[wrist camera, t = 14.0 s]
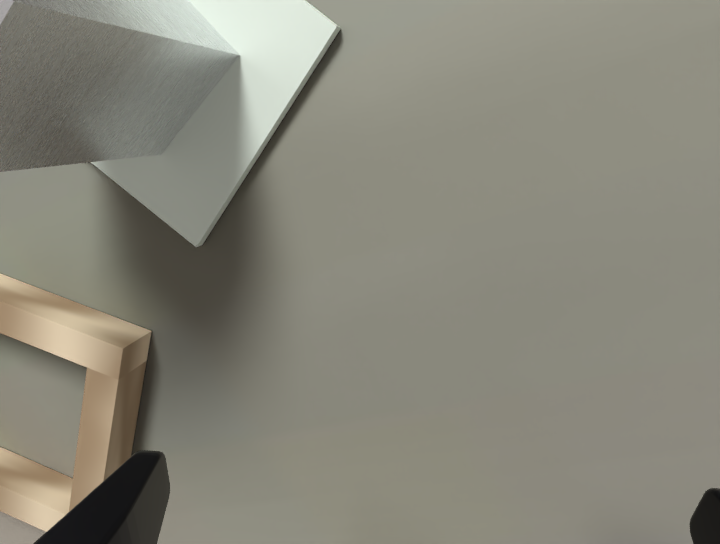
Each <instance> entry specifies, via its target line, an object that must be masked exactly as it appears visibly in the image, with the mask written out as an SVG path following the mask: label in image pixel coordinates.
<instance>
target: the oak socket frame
mask: <svg viewBox="0 0 720 544" xmlns="http://www.w3.org/2000/svg"><path fill="white" fill-rule="evenodd" d="M151 332H152V331H150V330H148V329H145V328H142V327H140V326H137V325H134V324H132V323H129V322H126V321H124V320H121V319H119V318H116V317H113V316H111V315H108V314H105V313H103V312H100V311H97V310H95V309H92V308H90V307H87V306H84V305H82V304H79V303H76V302H74V301H71V300H69V299H66V298H63V297H61V296H58V295H55V294H53V293H50V292H47V291H45V290H42V289H40V288H37V287H34V286H32V285H29V284H26V283H24V282H21V281H18V280H16V279H13V278H11V277H8V276H5V275H3V274H0V333H2V334H4V335H7V336H9V337H12V338H14V339H17V340H19V341H22V342H24V343H27V344H29V345H32V346H34V347H37V348H39V349H42V350H44V351H47V352H49V353H52V354H54V355H57V356H59V357H62V358H64V359H67V360H69V361H72V362H75V363H77V364H80V365H82V366H85V367H87V372H86V380H85V388H84V396H83V404H82V412H81V420H80V427H79V435H78V443H77V451H76V459H75V467H74V475H73V478H71V477H68V476H66V475H64V474H61V473H59V472H57V471H55V470H52V469H50V468H48V467H45V466H43V465H41V464H38V463H36V462H34V461H31V460H29V459H27V458H24V457H22V456H20V455H18V454H15V453H13V452H11V451H8V450H6V449H4V448H1V447H0V511H2V512H4V513H6V514H8V515H10V516H13V517H15V518H17V519H19V520H21V521H24V522H26V523H28V524H30V525H32V526H35V527H37V528H39V529H41V530H43V531H46V532H47V531H48V530H49V529H50V528H51V527H53V526H54V525H55V524H56V523H57V522H58V521H59V520H60V519H62V518H63V517H64V516H65V515H66V514H67V513H68V512H69V511H71V510H72V509H73V508H74V507H75V506H76V505H77V504H78V503H80V502H81V501H82V500H83V499H84V498H85V497H86V496H87V495H88V494H90V493H91V492H92V491H93V490H94V489H95V488H96V487H97V486H99V485H100V484H101V483H102V482H103V481H104V480H105V479H106V478H108V477H109V476H110V475H111V474H112V473H113V472H114V471H115V470H117V469H118V468H119V467H120V466H121V465H122V464H123V463H124V462H126V461H127V460H128V459H129V458H130V457H131V453H132V447H133V441H134V435H135V429H136V423H137V417H138V411H139V405H140V399H141V392H142V386H143V380H144V374H145V368H146V362H147V356H148V350H149V344H150V338H151Z"/></svg>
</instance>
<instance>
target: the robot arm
mask: <svg viewBox="0 0 720 544" xmlns="http://www.w3.org/2000/svg"><path fill="white" fill-rule="evenodd" d="M169 494H170V482H169V476H168V470H167V464H166V458H165V455H164V454H163V453H162V452H160V451H145V450H142V451H138V452H136V453H135V454H133V455H132V456H131V457H130V458H129V459H128V460H127V461H126V462H124V463H123V464H122V465H121V466H120V467H119V468H118V469H117V470H115V471H114V472H113V473H112V474H111V475H110V476H109V477H108V478H106V479H105V480H104V481H103V482H102V483H101V484H100V485H99V486H97V487H96V488H95V489H94V490H93V491H92V492H91V493H90V494H88V495H87V496H86V497H85V498H84V499H83V500H82V501H81V502H80V503H78V504H77V505H76V506H75V507H74V508H73V509H72V510H71V511H69V512H68V513H67V514H66V515H65V516H64V517H63V518H62V519H60V520H59V521H58V522H57V523H56V524H55V525H54V526H53V527H51V528H50V529H49V530H48V531H47V532H46V533H45V534H44V535H43V536H41V537H40V538H39V539H38V540H37V541H36V542H35V543H34V544H157V541H158V537H159V533H160V530H161V526H162V522H163V518H164V514H165V511H166V507H167V503H168V499H169ZM690 533H691V537H692V540H693V544H720V489H718V488H711V489H709V490H707V491H706V492H705V493H704V495H703V497H702V499H701V501H700V502H699V504H698V506H697V508H696V510H695V512H694V514H693V515H692V517H691V520H690Z"/></svg>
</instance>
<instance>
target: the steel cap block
mask: <svg viewBox="0 0 720 544" xmlns="http://www.w3.org/2000/svg"><path fill="white" fill-rule="evenodd" d="M239 56H240V55H239V54H238V52H237V51H236V50H235V49H234V48H233V47H232V46H231V45H230V44H229V43H228V42H227V41H226V40H225V39H224V38H223V37H222V35H221V34H220V33H219V32H218V31H217V30H216V29H215V28H214V27H213V26H212V25H211V24H210V23H209V22H208V21H207V20H206V18H205V17H204V16H203V15H202V14H201V13H200V12H199V11H198V10H197V9H196V8H195V7H194V6H193V5H192V4H191V3H190V1H189V0H0V172H4V171H13V170H22V169H32V168H41V167H50V166H59V165H68V164H78V163H87V162H96V161H105V160H115V159H124V158H133V157H142V156H151V155H161V154H162V153H163V152H164V150H165V149H166V148H167V147H168V145H169V144H170V143H171V142H172V140H173V139H174V138H175V137H176V135H177V134H178V133H179V132H180V130H181V129H182V128H183V127H184V125H185V124H186V123H187V121H188V120H189V119H190V118H191V116H192V115H193V114H194V113H195V111H196V110H197V109H198V108H199V106H200V105H201V104H202V103H203V101H204V100H205V99H206V98H207V96H208V95H209V94H210V93H211V91H212V90H213V89H214V88H215V86H216V85H217V84H218V83H219V81H220V80H221V79H222V77H223V76H224V75H225V74H226V72H227V71H228V70H229V69H230V67H231V66H232V65H233V64H234V62H235V61H236V60H237V59H238V57H239Z"/></svg>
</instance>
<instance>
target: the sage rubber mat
mask: <svg viewBox="0 0 720 544" xmlns="http://www.w3.org/2000/svg"><path fill="white" fill-rule="evenodd" d="M189 1H190V3H191V4H192V5H193V6H194V7H195V8H196V9H197V10H198V11H199V12H200V13H201V14H202V15H203V16H204V17H205V18H206V20H207V21H208V22H209V23H210V24H211V25H212V26H213V27H214V28H215V29H216V30H217V31H218V32H219V33H220V34H221V35H222V37H223V38H224V39H225V40H226V41H227V42H228V43H229V44H230V45H231V46H232V47H233V48H234V49H235V50H236V51H237V52H238V54H239V55H240V56H239V57H238V59H237V60H236V61H235V62H234V64H233V65H232V66H231V67H230V69H229V70H228V71H227V72H226V74H225V75H224V76H223V77H222V79H221V80H220V81H219V83H218V84H217V85H216V86H215V88H214V89H213V90H212V91H211V93H210V94H209V95H208V96H207V98H206V99H205V100H204V101H203V103H202V104H201V105H200V106H199V108H198V109H197V110H196V111H195V113H194V114H193V115H192V116H191V118H190V119H189V120H188V121H187V123H186V124H185V125H184V127H183V128H182V129H181V130H180V132H179V133H178V134H177V135H176V137H175V138H174V139H173V140H172V142H171V143H170V144H169V145H168V147H167V148H166V149H165V150H164V152H163V153H162V154H161V155H151V156H142V157H133V158H124V159H115V160H105V161H96V162H91V163H92V164H93V165H95V166H96V167H97V168H98V169H100V170H101V171H102V172H103V173H105V174H106V175H107V176H108V177H110V178H111V179H112V180H113V181H115V182H116V183H117V184H118V185H119V186H121V187H122V188H123V189H124V190H126V191H127V192H128V193H129V194H131V195H132V196H133V197H134V198H136V199H137V200H138V201H139V202H141V203H142V204H143V205H144V206H145V207H147V208H148V209H149V210H150V211H152V212H153V213H154V214H155V215H157V216H158V217H159V218H160V219H162V220H163V221H164V222H165V223H167V224H168V225H169V226H170V227H172V228H173V229H174V230H175V231H176V232H178V233H179V234H180V235H181V236H183V237H184V238H185V239H186V240H188V241H189V242H190V243H191V244H193V245H194V246H195V247H198V246H201V245H203V243H204V242H205V240H206V238H207V237H208V235H209V234H210V232H211V231H212V229H213V227H214V226H215V224H216V223H217V221H218V220H219V218H220V217H221V215H222V213H223V212H224V210H225V209H226V207H227V206H228V204H229V202H230V201H231V199H232V198H233V196H234V195H235V193H236V192H237V190H238V188H239V187H240V185H241V184H242V182H243V181H244V179H245V177H246V176H247V174H248V173H249V171H250V170H251V168H252V167H253V165H254V163H255V162H256V160H257V159H258V157H259V156H260V154H261V152H262V151H263V149H264V148H265V146H266V145H267V143H268V142H269V140H270V138H271V137H272V135H273V134H274V132H275V131H276V129H277V127H278V126H279V124H280V123H281V121H282V120H283V118H284V117H285V115H286V113H287V112H288V110H289V109H290V107H291V106H292V104H293V102H294V101H295V99H296V98H297V96H298V95H299V93H300V92H301V90H302V88H303V87H304V85H305V84H306V82H307V81H308V79H309V77H310V76H311V74H312V73H313V71H314V70H315V68H316V67H317V65H318V63H319V62H320V60H321V59H322V57H323V56H324V54H325V52H326V51H327V49H328V48H329V46H330V45H331V43H332V42H333V40H334V38H335V37H336V35H337V34H338V32H339V31H340V29H341V28H340V27H339V26H338V25H336V24H335V23H334V22H333V21H331V20H330V19H329V18H327V17H326V16H325V15H324V14H322V13H321V12H320V11H319V10H317V9H316V8H315V7H314V6H312V5H311V4H310V3H308V2H307V1H306V0H189Z"/></svg>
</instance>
